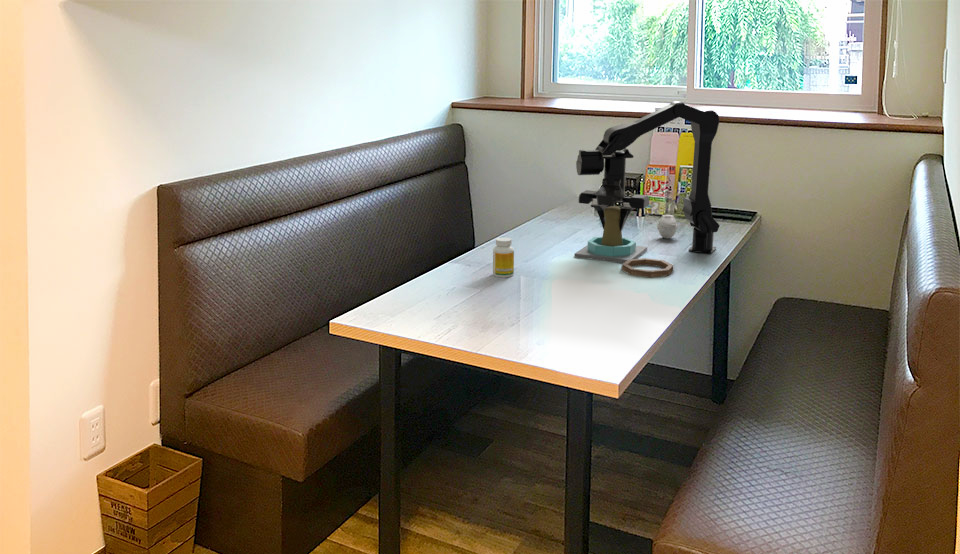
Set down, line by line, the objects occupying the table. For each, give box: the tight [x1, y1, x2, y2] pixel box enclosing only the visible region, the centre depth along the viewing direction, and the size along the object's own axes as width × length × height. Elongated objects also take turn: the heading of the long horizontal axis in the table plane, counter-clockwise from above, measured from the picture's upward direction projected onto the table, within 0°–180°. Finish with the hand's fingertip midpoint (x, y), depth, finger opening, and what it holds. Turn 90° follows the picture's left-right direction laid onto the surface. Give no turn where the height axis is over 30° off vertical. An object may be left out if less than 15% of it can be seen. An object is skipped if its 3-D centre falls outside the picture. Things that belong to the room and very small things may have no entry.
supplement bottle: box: [492, 237, 515, 279], centre depth 231 cm, size 5×5×10 cm
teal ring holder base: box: [573, 236, 648, 264], centre depth 252 cm, size 16×16×4 cm
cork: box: [601, 205, 623, 246], centre depth 250 cm, size 6×6×11 cm
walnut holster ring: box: [621, 257, 675, 278], centre depth 236 cm, size 12×12×2 cm
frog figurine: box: [656, 214, 679, 240], centre depth 269 cm, size 6×7×7 cm
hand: (612, 229), depth 251 cm, fingers closed on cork, 4 cm apart
